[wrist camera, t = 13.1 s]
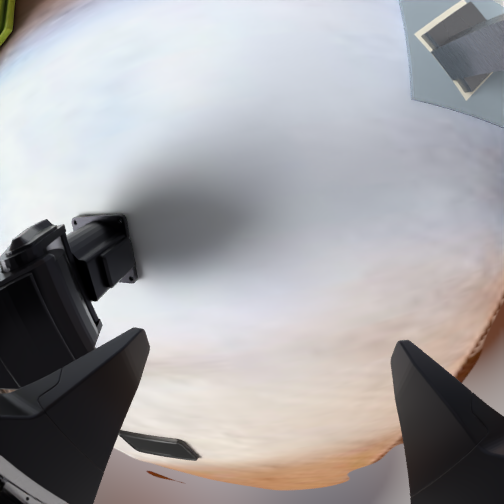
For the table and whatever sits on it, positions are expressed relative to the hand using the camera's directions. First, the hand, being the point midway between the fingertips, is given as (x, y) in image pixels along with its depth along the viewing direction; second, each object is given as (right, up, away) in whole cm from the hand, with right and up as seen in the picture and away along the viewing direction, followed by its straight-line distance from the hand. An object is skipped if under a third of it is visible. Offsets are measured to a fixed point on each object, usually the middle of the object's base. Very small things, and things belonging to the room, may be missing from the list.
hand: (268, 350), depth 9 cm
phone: (-18, -33, +31) cm, 49 cm away
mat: (+18, +21, +3) cm, 28 cm away
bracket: (+17, +20, +3) cm, 27 cm away
